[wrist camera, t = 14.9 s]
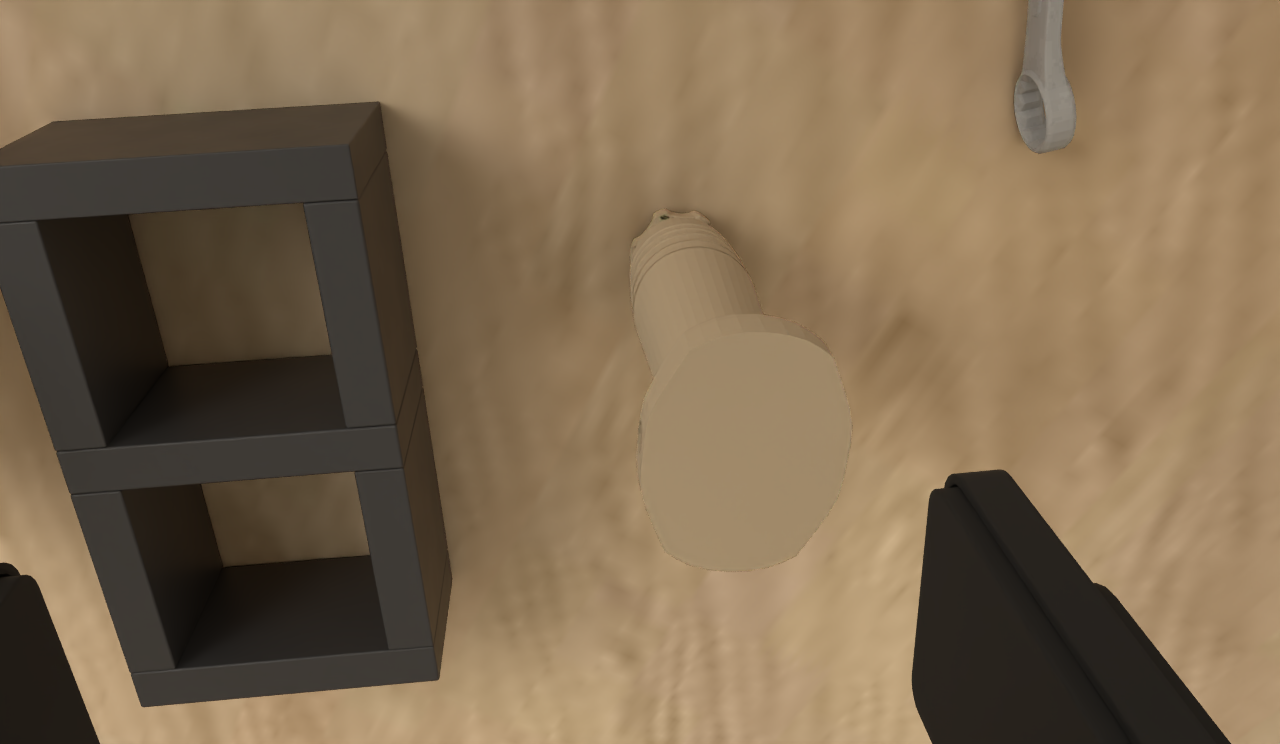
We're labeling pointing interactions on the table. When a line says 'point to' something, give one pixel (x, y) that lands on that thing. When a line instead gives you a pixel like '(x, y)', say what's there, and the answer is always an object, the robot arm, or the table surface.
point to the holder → (230, 400)
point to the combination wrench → (1044, 82)
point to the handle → (729, 406)
